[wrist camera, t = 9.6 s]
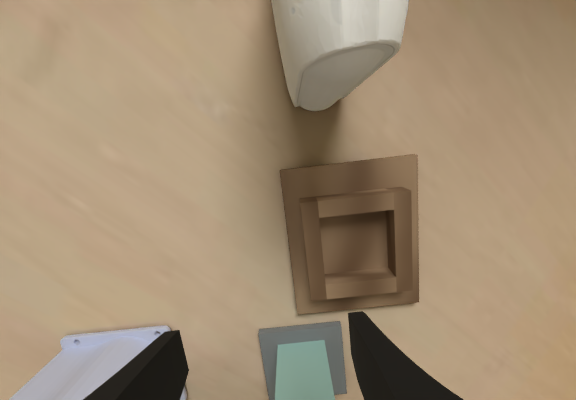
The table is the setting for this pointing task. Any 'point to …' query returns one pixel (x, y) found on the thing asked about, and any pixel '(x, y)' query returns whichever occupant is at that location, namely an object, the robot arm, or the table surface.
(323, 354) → the block
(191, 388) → the table surface
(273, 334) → the pad
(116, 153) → the table surface
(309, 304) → the pocket board
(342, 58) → the photo printer
